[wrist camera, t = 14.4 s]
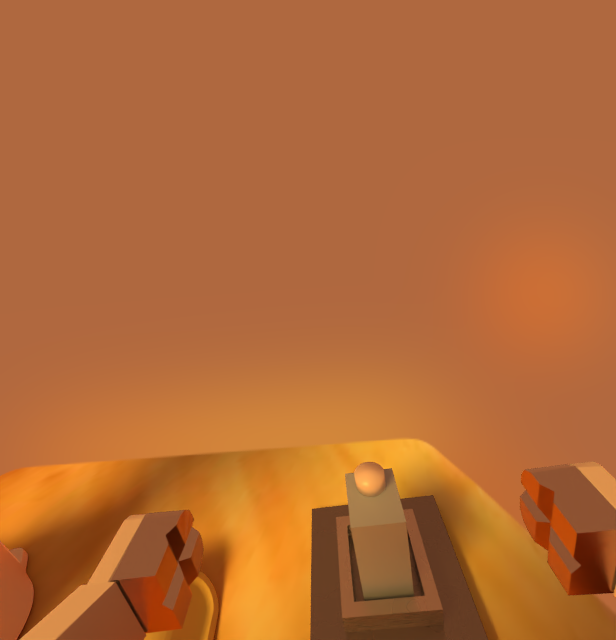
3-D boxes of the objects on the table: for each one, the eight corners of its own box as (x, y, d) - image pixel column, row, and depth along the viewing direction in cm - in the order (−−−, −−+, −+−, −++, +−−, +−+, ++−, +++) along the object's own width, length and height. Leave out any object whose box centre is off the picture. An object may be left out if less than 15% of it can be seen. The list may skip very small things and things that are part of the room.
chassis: (312, 691, 25) (305, 668, 24) (313, 516, 38) (309, 496, 37) (498, 679, 24) (499, 654, 22) (433, 503, 37) (432, 482, 36)
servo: (365, 605, 28) (348, 516, 24) (358, 545, 33) (343, 463, 29) (414, 600, 28) (404, 509, 24) (400, 541, 32) (390, 457, 29)
